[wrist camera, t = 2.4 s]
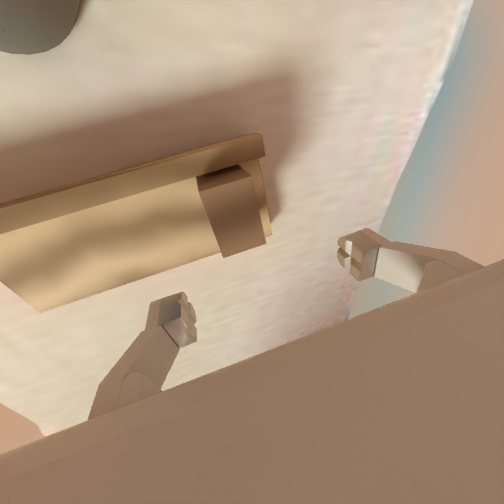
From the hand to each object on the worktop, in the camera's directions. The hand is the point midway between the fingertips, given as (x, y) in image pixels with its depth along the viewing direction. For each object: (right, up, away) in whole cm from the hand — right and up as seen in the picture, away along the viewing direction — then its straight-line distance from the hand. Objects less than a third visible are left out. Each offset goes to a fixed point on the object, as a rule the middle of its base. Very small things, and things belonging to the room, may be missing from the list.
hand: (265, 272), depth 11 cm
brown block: (-3, +6, +10) cm, 12 cm away
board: (-12, +4, +11) cm, 17 cm away
